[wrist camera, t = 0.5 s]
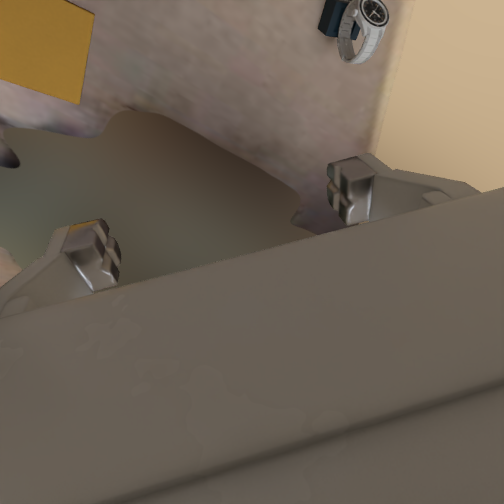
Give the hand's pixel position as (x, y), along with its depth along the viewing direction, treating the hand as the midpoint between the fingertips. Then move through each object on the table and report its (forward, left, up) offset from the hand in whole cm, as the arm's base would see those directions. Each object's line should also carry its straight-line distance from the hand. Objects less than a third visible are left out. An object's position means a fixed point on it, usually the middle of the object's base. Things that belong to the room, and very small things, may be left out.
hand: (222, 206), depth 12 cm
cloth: (+16, -12, -46) cm, 50 cm away
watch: (-6, +29, -46) cm, 54 cm away
